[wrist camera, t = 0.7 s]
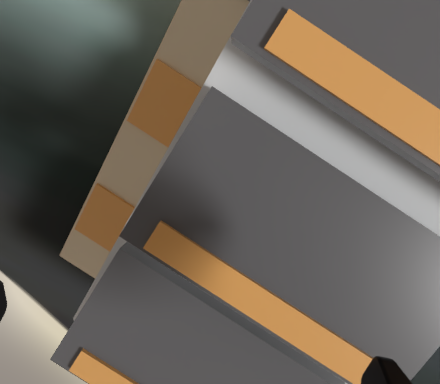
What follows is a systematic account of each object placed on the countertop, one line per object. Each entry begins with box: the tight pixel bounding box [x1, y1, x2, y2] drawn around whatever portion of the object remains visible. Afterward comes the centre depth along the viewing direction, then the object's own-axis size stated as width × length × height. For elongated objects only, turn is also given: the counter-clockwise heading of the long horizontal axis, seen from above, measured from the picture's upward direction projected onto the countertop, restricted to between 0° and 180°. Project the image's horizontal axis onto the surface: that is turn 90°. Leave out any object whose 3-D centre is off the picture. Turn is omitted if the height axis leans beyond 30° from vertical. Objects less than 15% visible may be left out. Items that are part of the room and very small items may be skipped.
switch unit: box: [59, 0, 440, 384], centre depth 18 cm, size 18×25×6 cm
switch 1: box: [51, 242, 345, 384], centre depth 17 cm, size 12×6×1 cm, turn 59°
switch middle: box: [119, 86, 440, 384], centre depth 14 cm, size 12×6×1 cm, turn 59°
